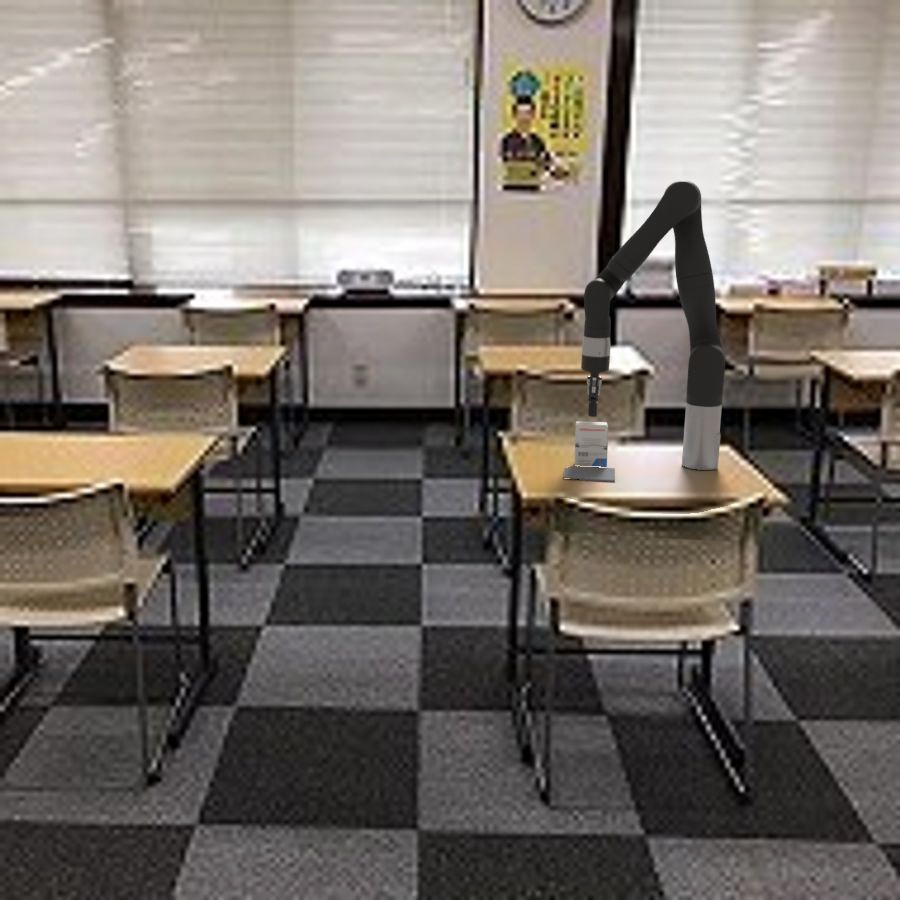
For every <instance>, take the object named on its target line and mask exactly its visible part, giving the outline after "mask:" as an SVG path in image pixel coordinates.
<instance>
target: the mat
mask: <svg viewBox="0 0 900 900" xmlns="http://www.w3.org/2000/svg"><path fill="white" fill-rule="evenodd" d="M569 466H570V467H568V468H565V467H564V473H563V477H562V478H570V479H579V480H578V481H585V480H588V481H589V482H604V481H607V483H608V482H609V483H616V472H615V471H616V468H615V467H607V468H599V467H580V466H578V467H577V466H575V465H569ZM588 481H587V482H588Z"/></svg>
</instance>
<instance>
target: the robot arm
mask: <svg viewBox="0 0 900 900" xmlns="http://www.w3.org/2000/svg"><path fill="white" fill-rule="evenodd" d="M663 193H664V194H662V197H661V198H660V200H659V202H658V203H657V204H656V207H655V208H654V209H653V211H652V212H651V214H650V215H649V216H648V218H646V220H645V221H644V222H643V223H642V224H641V226H640V227H639V228H638V229H637V230H636V231H635V232H634V233H633V234H632V235H631V236H630V237H629V238H628V239H627V240H626V241H625V242H624V243H623V244H622V246H620V248H619V249H618V251H616V253H615V254H614V255H613V256H612V257H611V259H610V260H609V262H608V263H607V265H606V267H604V268H603V270H602V271H601V272H600V273H599V274H598V275H597V276H596V277H595V278H594V279H593V280H591V281H589V282H588V284H586V287H585V288H584V294H583V304H584V305H583V306H584V307H583V308H584V309H583V310H584V325H583V326H584V327H583V331H584V332H583V340H582V345H581V347H582V348H581V363H580V364H581V365H580V369H581V370H582V371H583V372H586V373H587V372H589V373H590V375H589V376H587V377H586V384H587V389H586V391H587V393H586V394H587V395H588V398H587V401H588V412H587V413H588V417H591V418H592V417H597V411H598V403H599V396H600V395H601V386H602V381H603V379H602V378H603V377H602V376H600V373H606V372H608V371H609V370H610V363H611V362H610V360H611V359H610V357H611V328H612V327H611V326H612V323H611V322H612V321H611V317H610V304H611V300H612V299H613V298H614V297H615V296H616V294H617V293H618V292H619V291H620V290H621V288H622V287H623V286H624V284H625V283H626V281H628V280H629V279H630V278H631V277H632V276H633V275H634V274H635V273H636V271H638V269H639V268H640V267H641V266H642V265H643V264H644V262H645V261H646V260H647V259H648V258H649V256H650V255H651V254H652V252H653V251H654V250H655V248H656V247H657V246H658V244H659V243H660V242H661V241H662V240H663V238H664V237H665V236H666V235H667V234H668V233H669V232H670V231H672V230H673V233H674V236H673V237H674V267H675V280H676V285H677V292H678V297H679V301H680V304H681V307H682V311H683V313H684V316H685V319H686V322H687V326H688V327H687V328H688V334H689V336H688V337H689V357H688V358H689V359H688V366H687V381H686V384H687V385H686V400H685V413H684V414H685V415H684V416H685V417H684V426H683V427H684V429H683V440H682V441H683V444H682V455H681V465H683V466H682V467H684V466H685V467H684V468H686V467H687V469H691V470H695V469H697V471H711V470H719V458H720V448H721V447H720V445H721V431H720V430H721V423H722V422H721V419H722V408H723V397H724V396H723V395H724V382H725V370H726V369H725V368H726V354H725V350H724V347H723V344H722V341H721V337H720V332H719V329H718V323H717V313H716V312H717V311H716V310H717V308H716V306H717V305H716V304H717V303H716V302H717V301H716V290H715V282H714V280H715V279H714V273H713V268H712V264H711V258H710V254H709V250H708V246H707V242H706V239H705V234H704V229H703V218H702V217H703V216H702V193H701V190H700V188H699V186H697V185H696V184H695V183H694V182H692V181H690V180H683V179H682V180H676V181H675V182H674V181H673V182H672V183H671V184H669V185H668V186H667V188H666V189H665V191H664V192H663Z"/></svg>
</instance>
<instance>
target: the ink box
mask: <svg viewBox="0 0 900 900" xmlns="http://www.w3.org/2000/svg"><path fill="white" fill-rule="evenodd" d="M574 432H575V433H574V435H575V436H574V466H575V465H580V466H601V467H607V468H608V446H609V445H608V444H609V424H608V422H607V421H581V420H579V421H575V431H574Z"/></svg>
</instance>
